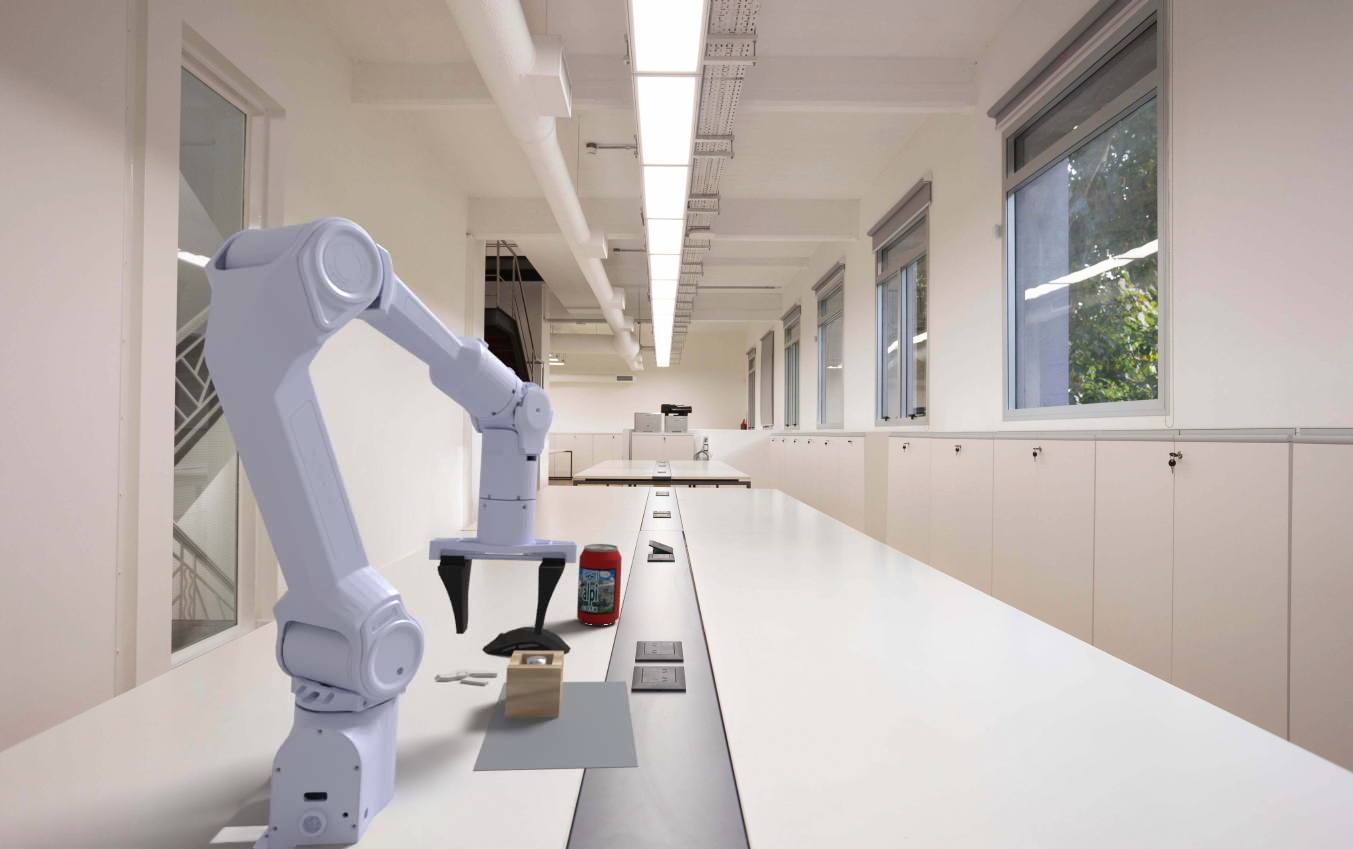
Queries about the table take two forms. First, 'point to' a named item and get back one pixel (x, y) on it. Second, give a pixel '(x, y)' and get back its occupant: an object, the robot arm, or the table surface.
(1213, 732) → the table surface
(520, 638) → the gaming mouse
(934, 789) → the table surface
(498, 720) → the slate board
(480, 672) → the pliers
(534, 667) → the birch collar
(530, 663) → the steel post
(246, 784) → the table surface
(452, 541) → the robot arm
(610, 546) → the beverage can
